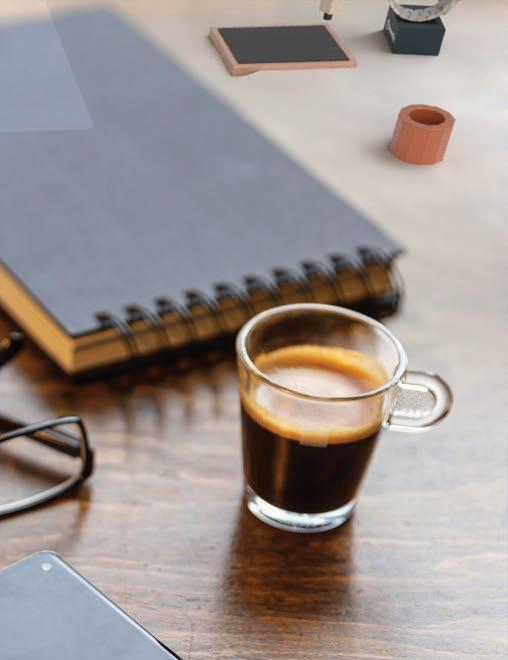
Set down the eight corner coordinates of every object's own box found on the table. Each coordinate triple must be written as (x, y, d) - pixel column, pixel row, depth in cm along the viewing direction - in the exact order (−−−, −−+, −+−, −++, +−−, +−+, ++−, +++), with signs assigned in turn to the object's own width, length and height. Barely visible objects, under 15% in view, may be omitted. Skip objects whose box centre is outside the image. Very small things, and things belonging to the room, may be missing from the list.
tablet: (325, 31, 132) (327, 22, 132) (355, 72, 126) (358, 62, 125) (208, 35, 132) (210, 25, 131) (232, 75, 125) (234, 66, 124)
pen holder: (426, 156, 113) (442, 103, 110) (446, 182, 110) (463, 128, 107) (376, 158, 113) (391, 105, 110) (394, 184, 110) (410, 130, 107)
